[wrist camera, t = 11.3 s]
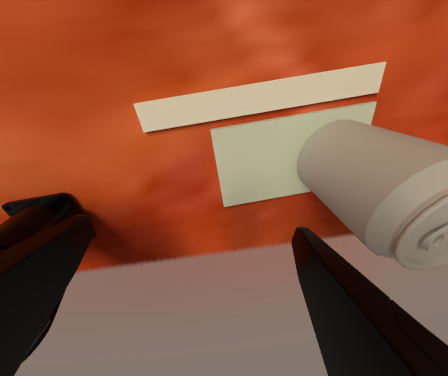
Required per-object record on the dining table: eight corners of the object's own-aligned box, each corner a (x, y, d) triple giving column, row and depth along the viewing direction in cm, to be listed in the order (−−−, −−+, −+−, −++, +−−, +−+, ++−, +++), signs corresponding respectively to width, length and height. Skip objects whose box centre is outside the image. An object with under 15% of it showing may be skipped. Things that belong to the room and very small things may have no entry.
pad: (223, 204, 22) (224, 207, 22) (210, 129, 18) (210, 130, 17) (352, 181, 23) (355, 183, 22) (372, 101, 18) (376, 101, 18)
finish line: (144, 131, 17) (143, 132, 17) (134, 103, 16) (133, 103, 16) (374, 92, 18) (378, 92, 17) (382, 61, 16) (386, 61, 16)
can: (363, 168, 21) (516, 251, 11) (300, 194, 22) (387, 294, 12) (360, 103, 17) (588, 138, 7) (284, 138, 18) (390, 213, 8)
